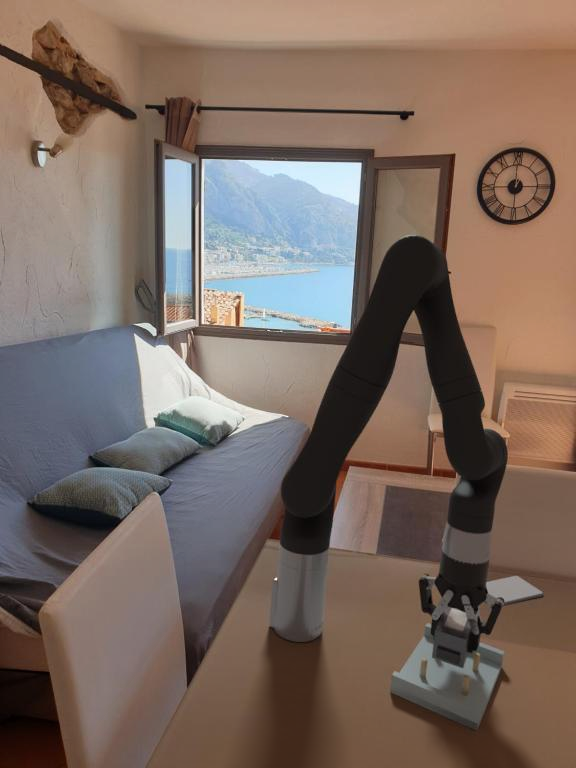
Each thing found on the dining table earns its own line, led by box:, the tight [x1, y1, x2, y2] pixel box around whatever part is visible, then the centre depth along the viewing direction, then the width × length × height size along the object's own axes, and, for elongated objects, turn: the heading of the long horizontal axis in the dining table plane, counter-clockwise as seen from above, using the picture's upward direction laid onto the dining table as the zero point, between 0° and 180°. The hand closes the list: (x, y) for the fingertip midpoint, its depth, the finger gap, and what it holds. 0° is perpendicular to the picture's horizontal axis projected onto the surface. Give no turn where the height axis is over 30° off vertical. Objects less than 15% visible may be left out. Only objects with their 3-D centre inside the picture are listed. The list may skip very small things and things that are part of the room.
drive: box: [432, 605, 471, 668], centre depth 98 cm, size 10×5×5 cm, turn 153°
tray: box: [389, 622, 505, 731], centre depth 100 cm, size 14×18×4 cm
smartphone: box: [484, 575, 544, 606], centre depth 130 cm, size 8×1×15 cm
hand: (453, 643), depth 99 cm, fingers closed on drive, 5 cm apart
